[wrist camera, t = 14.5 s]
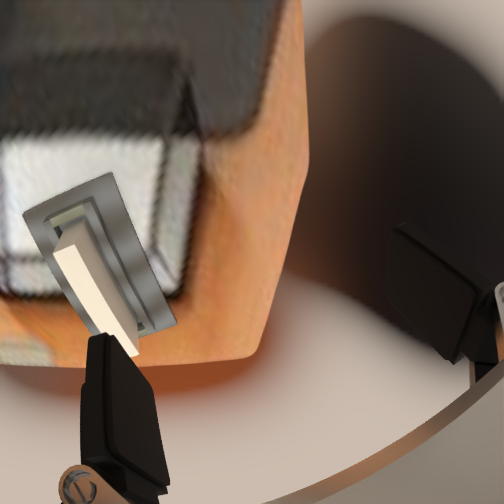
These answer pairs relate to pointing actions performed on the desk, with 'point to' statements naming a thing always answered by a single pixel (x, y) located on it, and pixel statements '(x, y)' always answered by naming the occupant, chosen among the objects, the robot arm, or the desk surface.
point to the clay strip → (96, 284)
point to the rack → (103, 249)
